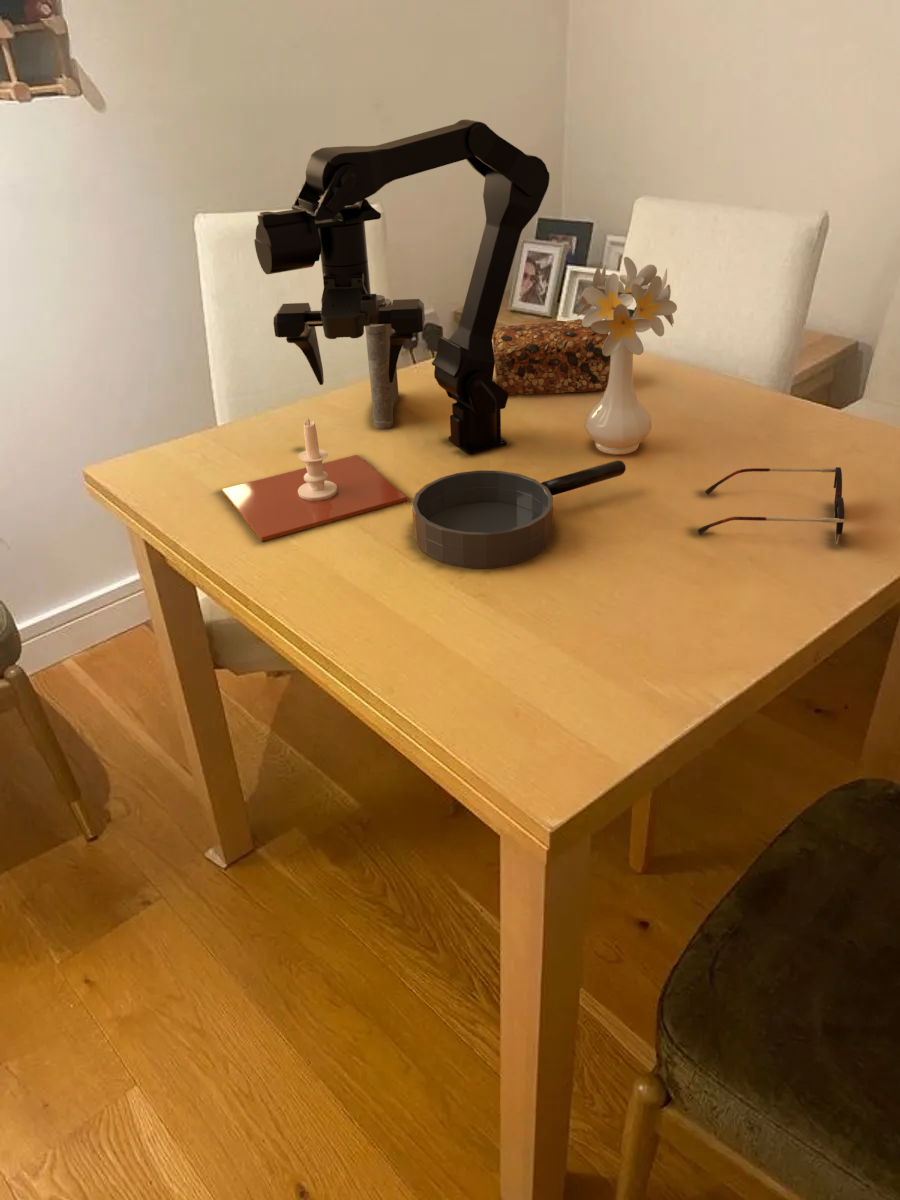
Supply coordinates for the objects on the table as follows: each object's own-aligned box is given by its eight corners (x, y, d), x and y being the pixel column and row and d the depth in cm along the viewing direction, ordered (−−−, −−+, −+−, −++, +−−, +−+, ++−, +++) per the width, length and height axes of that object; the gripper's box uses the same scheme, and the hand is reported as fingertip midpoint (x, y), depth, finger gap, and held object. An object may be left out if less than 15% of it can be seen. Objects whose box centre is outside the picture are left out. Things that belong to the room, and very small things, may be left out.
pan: (506, 490, 128) (505, 459, 126) (579, 543, 116) (580, 509, 113) (392, 523, 122) (389, 491, 120) (456, 583, 109) (455, 548, 107)
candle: (335, 500, 127) (326, 426, 121) (295, 501, 127) (284, 427, 121) (339, 483, 131) (331, 410, 126) (301, 484, 131) (291, 411, 126)
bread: (603, 371, 165) (606, 312, 159) (610, 394, 156) (613, 332, 151) (493, 374, 166) (492, 316, 160) (494, 397, 157) (493, 336, 151)
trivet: (357, 458, 139) (356, 454, 139) (407, 501, 127) (406, 496, 127) (222, 493, 131) (221, 489, 131) (261, 541, 119) (261, 537, 119)
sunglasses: (840, 554, 111) (845, 515, 109) (696, 546, 116) (697, 509, 113) (837, 500, 122) (841, 464, 120) (705, 495, 127) (707, 460, 124)
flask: (369, 429, 148) (357, 311, 138) (377, 395, 160) (367, 284, 150) (393, 428, 148) (383, 310, 138) (399, 394, 160) (391, 283, 150)
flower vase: (580, 477, 131) (587, 290, 117) (568, 424, 146) (573, 253, 133) (678, 474, 130) (695, 285, 117) (655, 421, 146) (669, 249, 132)
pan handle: (619, 470, 126) (619, 456, 125) (628, 476, 125) (629, 461, 124) (534, 495, 121) (534, 481, 120) (543, 501, 120) (543, 486, 119)
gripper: (257, 281, 113) (275, 408, 122) (416, 275, 112) (424, 403, 121) (273, 257, 123) (290, 377, 131) (421, 252, 122) (428, 372, 130)
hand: (356, 382), depth 128 cm, fingers open, 9 cm apart
